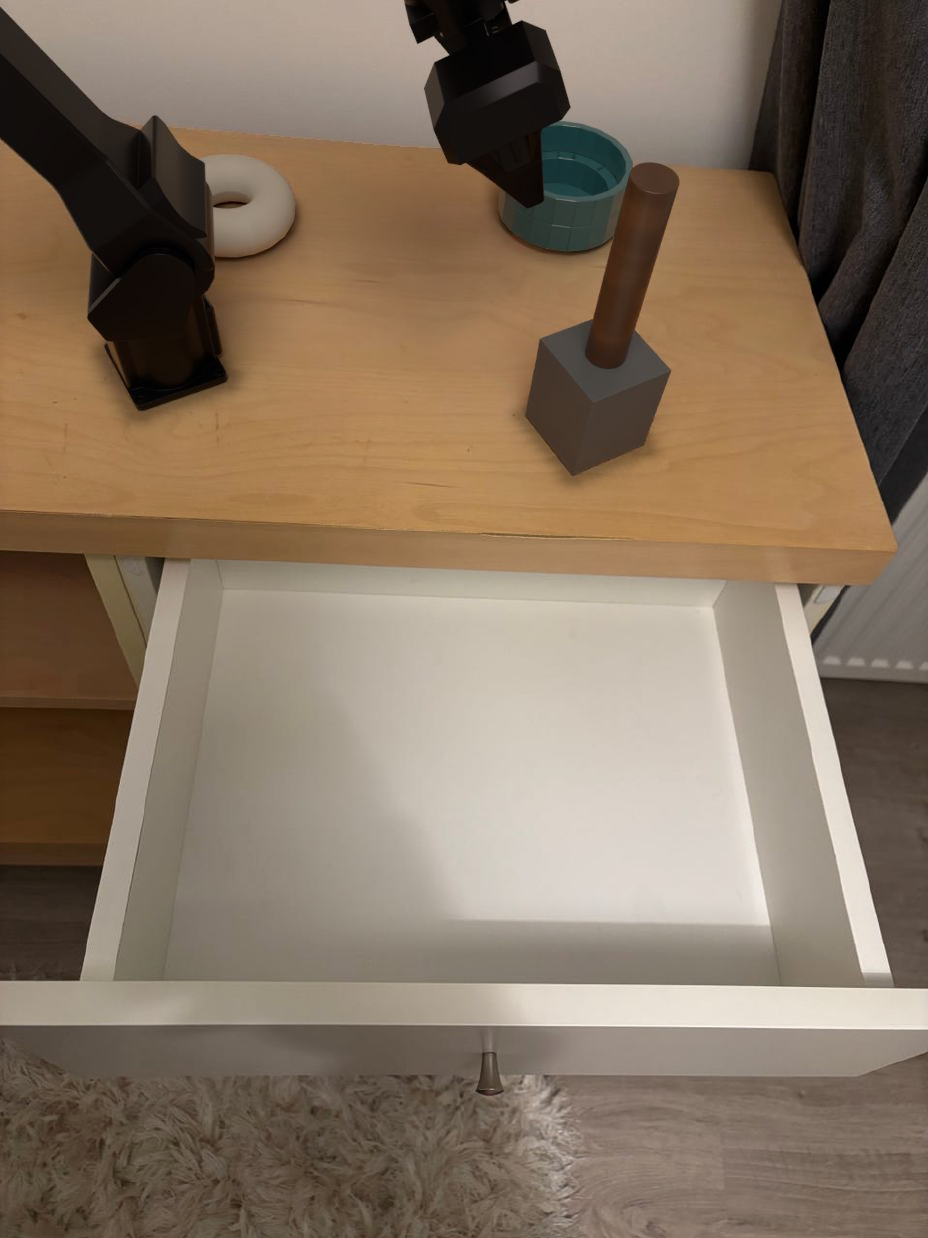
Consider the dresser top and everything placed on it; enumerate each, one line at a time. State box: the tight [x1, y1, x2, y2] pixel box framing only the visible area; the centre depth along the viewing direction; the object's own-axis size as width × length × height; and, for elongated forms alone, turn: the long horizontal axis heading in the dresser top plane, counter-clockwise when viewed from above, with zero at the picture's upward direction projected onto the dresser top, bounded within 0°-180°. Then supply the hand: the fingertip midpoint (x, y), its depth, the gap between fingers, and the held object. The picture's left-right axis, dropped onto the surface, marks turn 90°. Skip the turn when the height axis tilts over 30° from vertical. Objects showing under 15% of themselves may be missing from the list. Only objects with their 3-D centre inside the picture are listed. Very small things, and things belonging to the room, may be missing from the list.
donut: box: [198, 153, 297, 258], centre depth 69 cm, size 10×4×10 cm
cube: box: [524, 318, 672, 476], centre depth 59 cm, size 6×6×7 cm
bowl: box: [497, 120, 634, 253], centre depth 72 cm, size 10×10×5 cm
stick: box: [585, 161, 680, 369], centre depth 51 cm, size 3×3×12 cm
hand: (520, 153), depth 53 cm, fingers open, 9 cm apart
